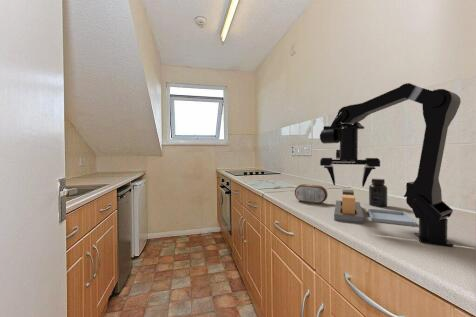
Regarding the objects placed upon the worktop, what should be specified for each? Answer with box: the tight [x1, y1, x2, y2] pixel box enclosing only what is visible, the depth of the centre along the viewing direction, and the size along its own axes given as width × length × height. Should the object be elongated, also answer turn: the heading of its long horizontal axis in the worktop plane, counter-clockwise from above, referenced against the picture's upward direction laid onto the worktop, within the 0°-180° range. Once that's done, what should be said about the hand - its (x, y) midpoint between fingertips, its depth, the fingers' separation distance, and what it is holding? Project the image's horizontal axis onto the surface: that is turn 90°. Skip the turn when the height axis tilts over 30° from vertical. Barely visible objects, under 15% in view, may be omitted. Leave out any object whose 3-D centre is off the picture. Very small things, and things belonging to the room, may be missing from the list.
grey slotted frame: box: [333, 199, 365, 224], centre depth 85 cm, size 24×9×2 cm, turn 154°
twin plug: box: [342, 189, 355, 196], centre depth 90 cm, size 6×4×8 cm, turn 154°
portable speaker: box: [294, 183, 328, 205], centre depth 105 cm, size 15×3×8 cm, turn 58°
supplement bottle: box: [368, 178, 388, 208], centre depth 96 cm, size 7×7×12 cm
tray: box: [367, 207, 417, 227], centre depth 78 cm, size 14×12×2 cm
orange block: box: [341, 194, 356, 214], centre depth 79 cm, size 6×4×8 cm, turn 154°
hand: (348, 185), depth 79 cm, fingers open, 9 cm apart
